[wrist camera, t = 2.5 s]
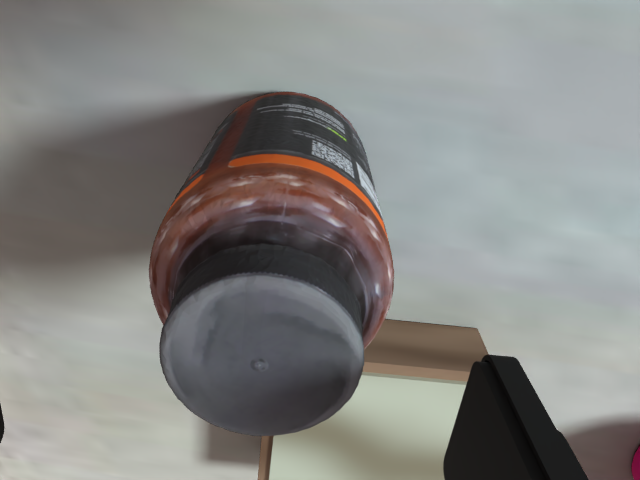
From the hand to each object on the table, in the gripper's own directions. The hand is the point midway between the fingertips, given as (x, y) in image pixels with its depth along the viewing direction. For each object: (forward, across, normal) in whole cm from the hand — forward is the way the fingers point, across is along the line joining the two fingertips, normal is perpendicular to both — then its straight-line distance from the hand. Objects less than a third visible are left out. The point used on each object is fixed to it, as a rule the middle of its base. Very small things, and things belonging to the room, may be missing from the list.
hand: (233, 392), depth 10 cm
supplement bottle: (+12, -1, -1) cm, 12 cm away
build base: (+12, -5, +10) cm, 16 cm away
